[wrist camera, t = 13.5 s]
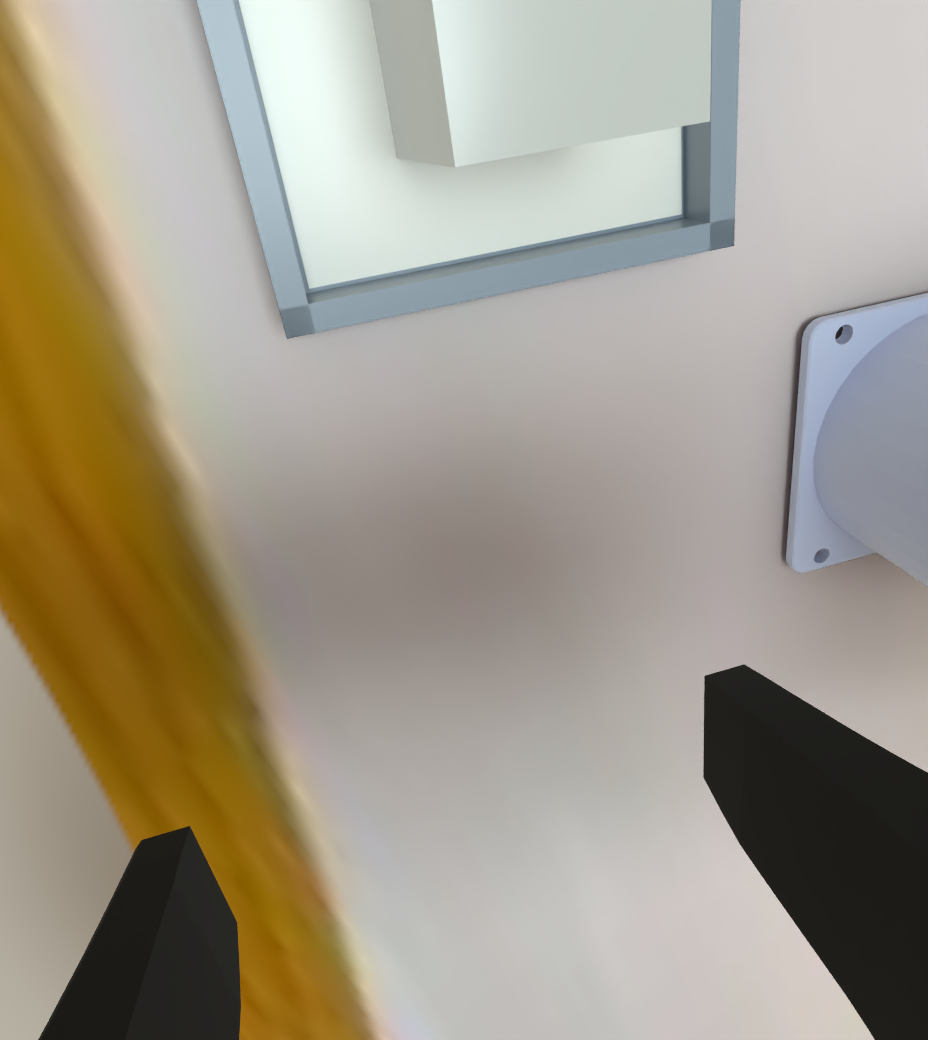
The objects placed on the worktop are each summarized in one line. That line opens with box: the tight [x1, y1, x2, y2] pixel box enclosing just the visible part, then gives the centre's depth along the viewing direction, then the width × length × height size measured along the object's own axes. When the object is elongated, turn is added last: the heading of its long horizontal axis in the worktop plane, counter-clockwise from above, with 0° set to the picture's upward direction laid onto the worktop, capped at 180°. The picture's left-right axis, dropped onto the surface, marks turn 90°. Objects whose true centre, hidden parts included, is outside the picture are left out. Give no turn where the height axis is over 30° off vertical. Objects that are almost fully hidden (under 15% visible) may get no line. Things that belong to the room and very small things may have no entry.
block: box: [369, 0, 712, 167], centre depth 12 cm, size 4×4×6 cm
